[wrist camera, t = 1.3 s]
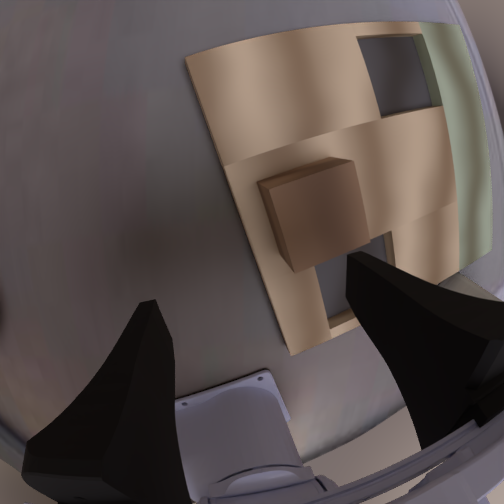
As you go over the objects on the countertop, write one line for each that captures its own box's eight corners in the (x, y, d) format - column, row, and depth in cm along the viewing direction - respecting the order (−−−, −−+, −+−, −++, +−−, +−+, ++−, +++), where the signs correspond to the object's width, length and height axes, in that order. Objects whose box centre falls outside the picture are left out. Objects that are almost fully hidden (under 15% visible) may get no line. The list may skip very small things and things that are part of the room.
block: (280, 254, 20) (294, 273, 18) (256, 181, 18) (268, 189, 16) (347, 227, 21) (370, 242, 18) (330, 156, 19) (353, 160, 16)
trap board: (285, 345, 25) (291, 356, 24) (185, 63, 16) (184, 57, 15) (482, 245, 26) (491, 249, 25) (448, 27, 18) (459, 25, 16)
